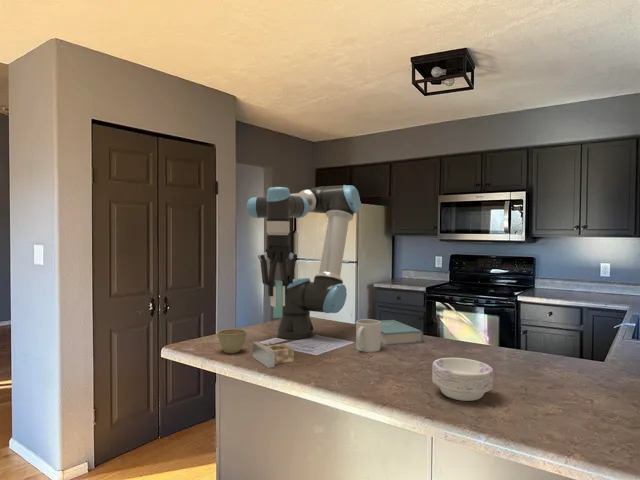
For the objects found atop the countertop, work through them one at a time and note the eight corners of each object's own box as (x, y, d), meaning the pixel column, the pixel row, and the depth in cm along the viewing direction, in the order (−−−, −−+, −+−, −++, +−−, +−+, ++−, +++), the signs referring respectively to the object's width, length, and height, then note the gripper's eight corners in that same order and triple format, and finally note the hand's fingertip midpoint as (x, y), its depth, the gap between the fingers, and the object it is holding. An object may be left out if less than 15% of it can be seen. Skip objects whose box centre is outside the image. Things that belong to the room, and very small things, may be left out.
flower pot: (249, 348, 165) (249, 328, 165) (242, 355, 155) (242, 335, 155) (222, 347, 166) (222, 328, 166) (213, 354, 156) (213, 334, 156)
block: (283, 355, 156) (283, 343, 156) (293, 361, 149) (293, 349, 149) (261, 358, 152) (261, 346, 152) (270, 364, 145) (270, 352, 145)
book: (361, 333, 193) (361, 321, 193) (395, 331, 198) (395, 319, 198) (385, 346, 172) (385, 333, 171) (422, 343, 177) (423, 330, 176)
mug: (374, 345, 171) (374, 318, 171) (385, 351, 162) (385, 323, 162) (347, 347, 168) (347, 320, 168) (357, 353, 159) (357, 325, 159)
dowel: (280, 316, 152) (280, 280, 152) (283, 317, 149) (283, 281, 149) (271, 316, 151) (272, 280, 151) (275, 318, 148) (275, 281, 148)
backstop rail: (258, 356, 155) (258, 341, 155) (274, 367, 143) (274, 351, 142) (252, 357, 154) (252, 342, 154) (268, 367, 142) (268, 351, 141)
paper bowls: (505, 402, 114) (506, 370, 114) (452, 408, 110) (453, 375, 110) (469, 382, 129) (469, 355, 129) (421, 387, 124) (421, 358, 124)
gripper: (294, 234, 157) (294, 302, 157) (251, 234, 149) (251, 305, 150) (304, 234, 150) (303, 305, 151) (260, 234, 143) (259, 309, 143)
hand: (277, 305), depth 150 cm, fingers closed on dowel, 2 cm apart
